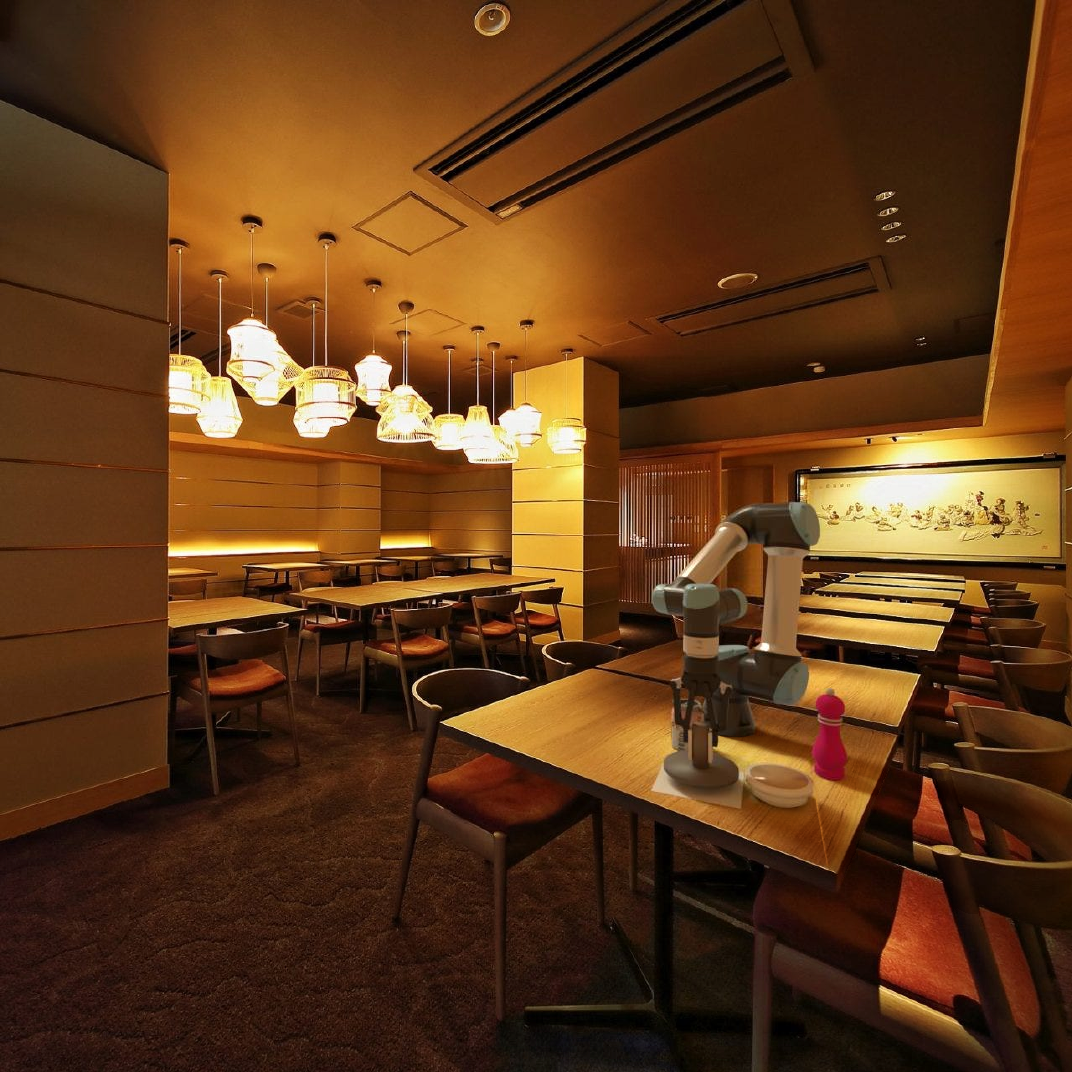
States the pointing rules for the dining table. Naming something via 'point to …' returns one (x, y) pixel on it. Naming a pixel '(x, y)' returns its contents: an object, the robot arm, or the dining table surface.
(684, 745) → the beverage can
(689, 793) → the mat
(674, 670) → the dining table surface
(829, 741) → the pepper mill
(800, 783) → the bowl
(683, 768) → the lid
